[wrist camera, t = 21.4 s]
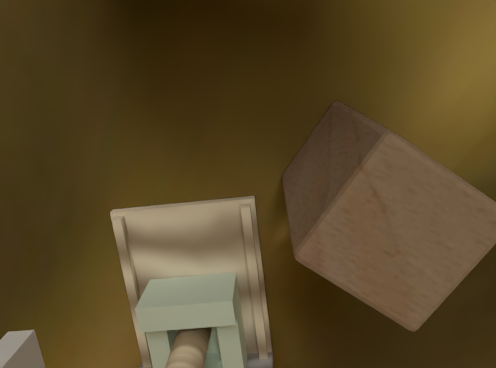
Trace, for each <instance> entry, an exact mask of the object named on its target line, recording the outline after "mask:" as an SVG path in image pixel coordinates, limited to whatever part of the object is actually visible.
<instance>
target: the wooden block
mask: <svg viewBox="0 0 496 368" xmlns="http://www.w3.org/2000/svg"><path fill="white" fill-rule="evenodd" d="M282 182H283V189H284V196H285V203H286V209H287V216H288V223H289V230H290V236H291V243H292V250H293V256H294V258H295V259H296V261H298V262H299V263H301V264H302V265H304V266H306V267H307V268H309V269H311V270H312V271H314V272H315V273H317V274H319V275H320V276H322V277H324V278H325V279H327V280H328V281H330V282H332V283H333V284H335V285H336V286H338V287H340V288H341V289H343V290H345V291H346V292H348V293H349V294H351V295H353V296H354V297H356V298H358V299H359V300H361V301H362V302H364V303H366V304H367V305H369V306H370V307H372V308H374V309H375V310H377V311H379V312H380V313H382V314H383V315H385V316H387V317H388V318H390V319H392V320H393V321H395V322H396V323H398V324H400V325H401V326H403V327H404V328H406V329H408V330H410V331H416V330H418V329H419V328H420V326H421V325H422V324H423V323H424V322H425V321H426V320H427V319H428V318H429V316H430V315H431V314H432V313H433V312H434V311H435V310H436V309H437V308H438V307H439V305H440V304H441V303H442V302H443V301H444V300H445V299H446V298H447V297H448V296H449V294H450V293H451V292H452V291H453V290H454V289H455V288H456V287H457V286H458V284H459V283H460V282H461V281H462V280H463V279H464V278H465V277H466V276H467V275H468V273H469V272H470V271H471V270H472V269H473V268H474V267H475V266H476V265H477V264H478V262H479V261H480V260H481V259H482V258H483V257H484V256H485V255H486V254H487V252H488V251H489V250H490V249H491V248H492V247H493V246H494V245H495V244H496V202H495V201H493V200H492V199H490V198H489V197H488V196H486V195H485V194H483V193H482V192H480V191H479V190H477V189H476V188H474V187H473V186H472V185H470V184H469V183H467V182H466V181H464V180H463V179H461V178H460V177H458V176H457V175H455V174H454V173H453V172H451V171H450V170H448V169H447V168H445V167H444V166H442V165H441V164H439V163H438V162H437V161H435V160H434V159H432V158H431V157H429V156H428V155H426V154H425V153H423V152H422V151H421V150H419V149H418V148H416V147H415V146H413V145H412V144H410V143H409V142H407V141H406V140H405V139H403V138H402V137H400V136H399V135H397V134H396V133H394V132H393V131H391V130H389V129H387V128H385V127H384V126H382V125H380V124H378V123H377V122H375V121H373V120H371V119H369V118H368V117H366V116H364V115H362V114H360V113H359V112H357V111H355V110H353V109H352V108H350V107H348V106H346V105H344V104H343V103H341V102H338V101H335V102H334V103H332V105H331V106H330V108H329V109H328V110H327V112H326V113H325V115H324V116H323V117H322V119H321V120H320V122H319V123H318V125H317V126H316V127H315V129H314V130H313V132H312V133H311V135H310V136H309V137H308V139H307V140H306V142H305V143H304V145H303V146H302V147H301V149H300V150H299V152H298V153H297V155H296V156H295V157H294V159H293V160H292V162H291V163H290V165H289V166H288V167H287V169H286V170H285V172H284V173H283V175H282Z"/></svg>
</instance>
